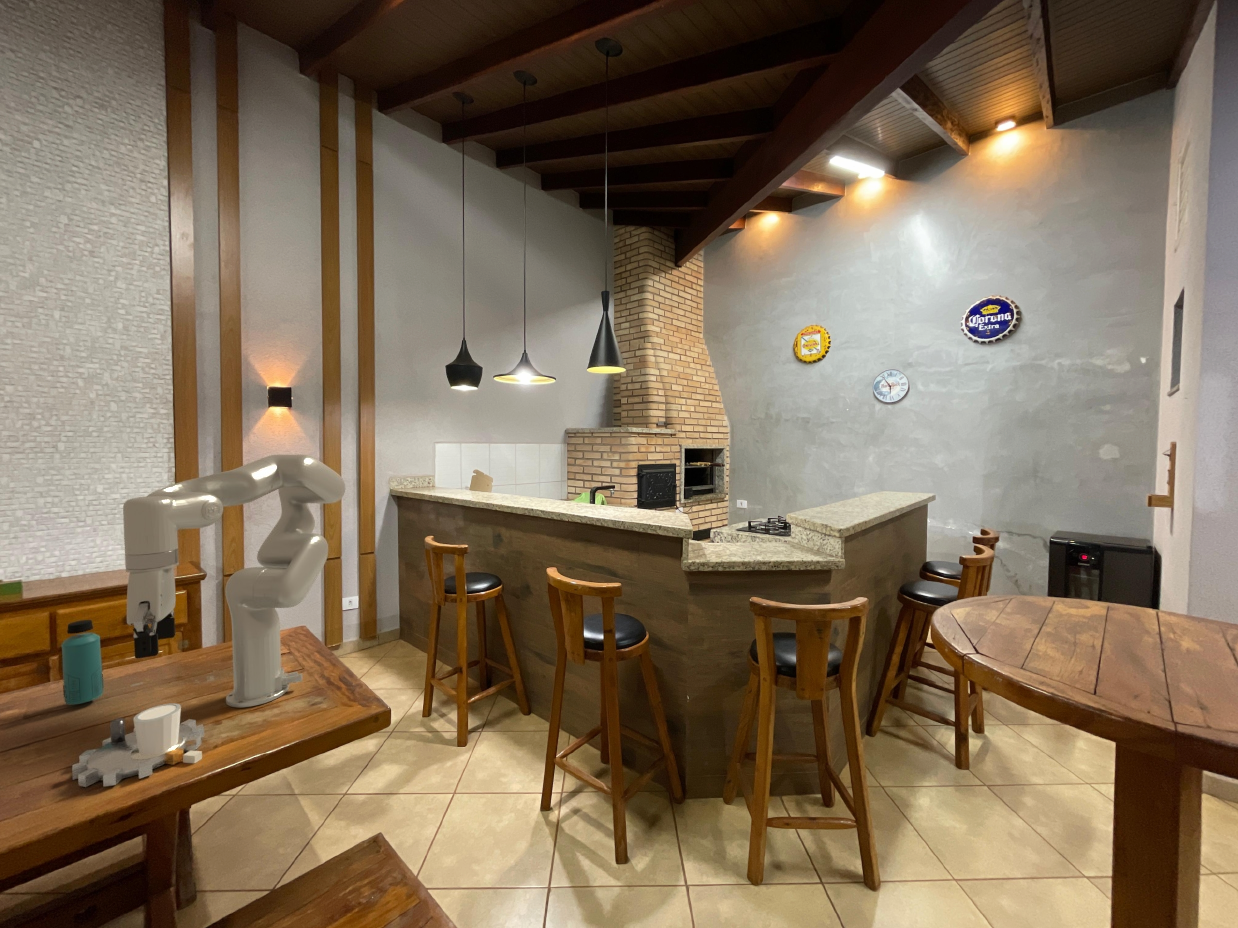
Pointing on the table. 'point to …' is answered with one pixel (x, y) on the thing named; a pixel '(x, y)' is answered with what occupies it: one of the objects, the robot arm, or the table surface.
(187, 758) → the block
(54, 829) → the table surface
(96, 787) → the table surface
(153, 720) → the white cup
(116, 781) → the index wheel
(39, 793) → the table surface
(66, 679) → the beverage bottle
